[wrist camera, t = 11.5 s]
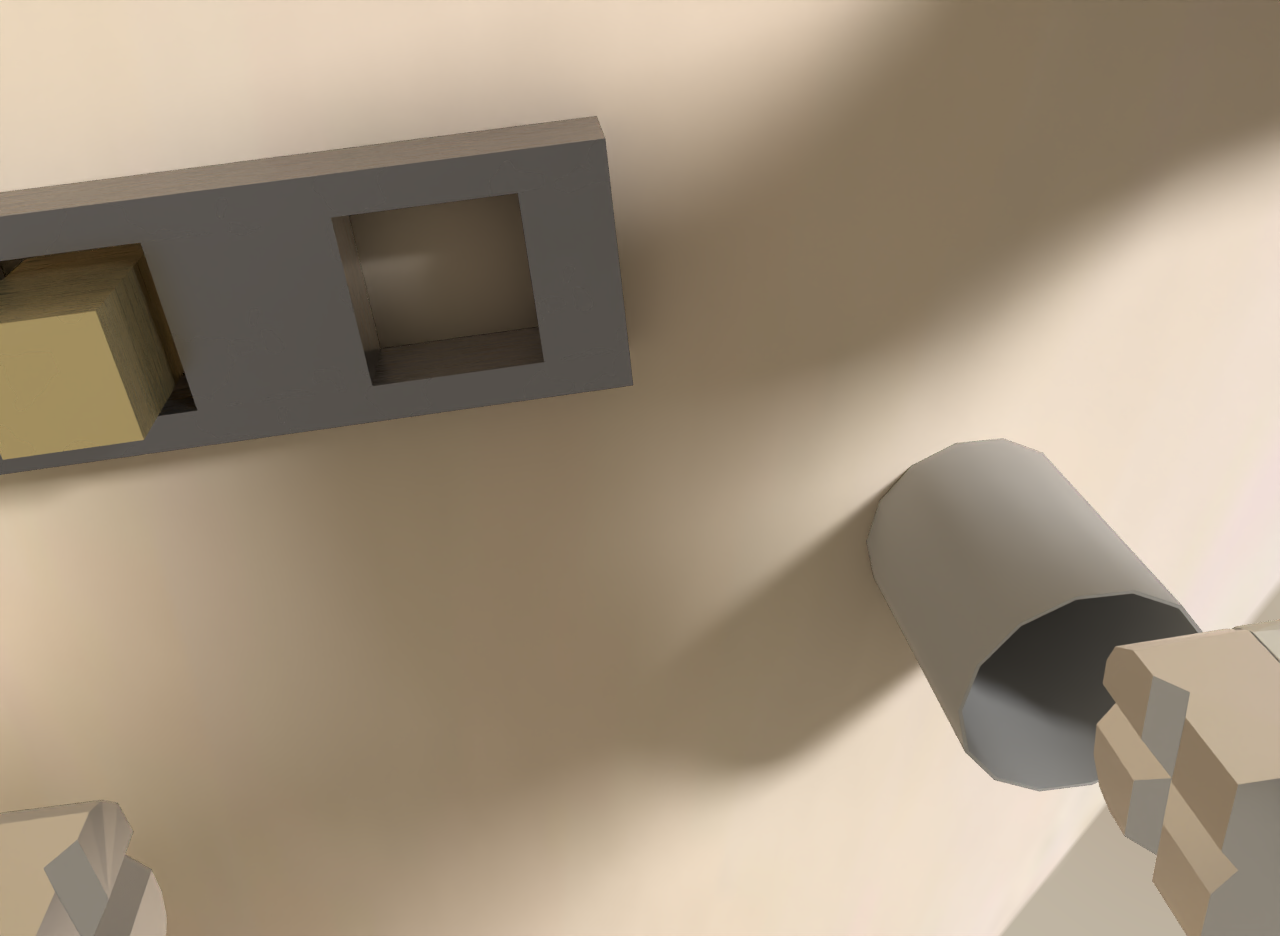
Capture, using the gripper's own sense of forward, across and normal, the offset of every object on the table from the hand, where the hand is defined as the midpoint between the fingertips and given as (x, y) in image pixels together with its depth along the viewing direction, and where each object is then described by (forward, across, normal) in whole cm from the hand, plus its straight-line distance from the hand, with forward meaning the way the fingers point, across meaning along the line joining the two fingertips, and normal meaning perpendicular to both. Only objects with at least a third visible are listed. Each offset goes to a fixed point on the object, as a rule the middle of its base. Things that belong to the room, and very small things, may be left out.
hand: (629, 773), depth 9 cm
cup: (+29, -15, +19) cm, 38 cm away
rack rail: (+29, +9, +5) cm, 30 cm away
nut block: (+29, +15, +5) cm, 33 cm away
